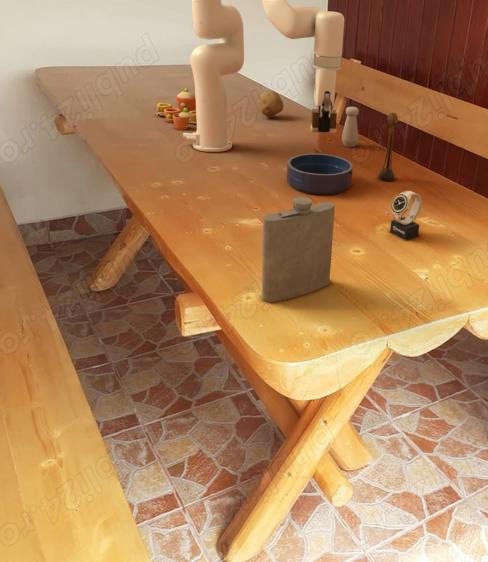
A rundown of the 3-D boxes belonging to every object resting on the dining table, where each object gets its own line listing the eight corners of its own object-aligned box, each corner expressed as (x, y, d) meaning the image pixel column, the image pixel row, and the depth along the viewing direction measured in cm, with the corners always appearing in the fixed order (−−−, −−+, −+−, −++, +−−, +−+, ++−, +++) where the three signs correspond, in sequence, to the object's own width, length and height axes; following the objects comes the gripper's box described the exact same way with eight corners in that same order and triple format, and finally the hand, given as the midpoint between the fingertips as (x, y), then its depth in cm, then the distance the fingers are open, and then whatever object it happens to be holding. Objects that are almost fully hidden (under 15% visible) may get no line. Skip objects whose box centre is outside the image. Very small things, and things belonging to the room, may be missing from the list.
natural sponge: (284, 115, 248) (285, 89, 243) (280, 121, 240) (281, 95, 236) (261, 113, 249) (262, 87, 244) (256, 119, 241) (257, 92, 236)
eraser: (311, 132, 178) (312, 112, 175) (310, 128, 182) (311, 108, 179) (336, 133, 179) (337, 113, 176) (334, 129, 183) (336, 109, 180)
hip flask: (323, 277, 137) (329, 188, 127) (335, 285, 134) (341, 195, 124) (259, 296, 128) (259, 203, 118) (270, 306, 125) (271, 211, 115)
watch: (384, 233, 158) (388, 191, 153) (407, 226, 163) (412, 186, 158) (399, 242, 155) (405, 199, 149) (423, 234, 159) (429, 193, 154)
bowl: (288, 195, 176) (289, 174, 173) (285, 172, 192) (286, 152, 190) (355, 196, 179) (356, 176, 176) (346, 173, 195) (348, 154, 192)
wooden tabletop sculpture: (398, 182, 192) (406, 115, 182) (384, 183, 190) (391, 116, 180) (389, 175, 196) (396, 110, 187) (375, 176, 194) (382, 110, 185)
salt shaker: (356, 148, 218) (359, 110, 211) (339, 146, 218) (342, 108, 212) (359, 144, 223) (362, 106, 216) (343, 141, 223) (345, 104, 217)
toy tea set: (151, 112, 239) (149, 86, 234) (192, 109, 246) (190, 84, 242) (173, 132, 220) (171, 103, 215) (216, 128, 227) (215, 100, 222)
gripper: (311, 55, 178) (307, 120, 187) (315, 67, 163) (311, 137, 172) (337, 56, 179) (333, 121, 188) (344, 69, 165) (339, 138, 173)
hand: (323, 128), depth 180 cm, fingers closed on eraser, 4 cm apart
